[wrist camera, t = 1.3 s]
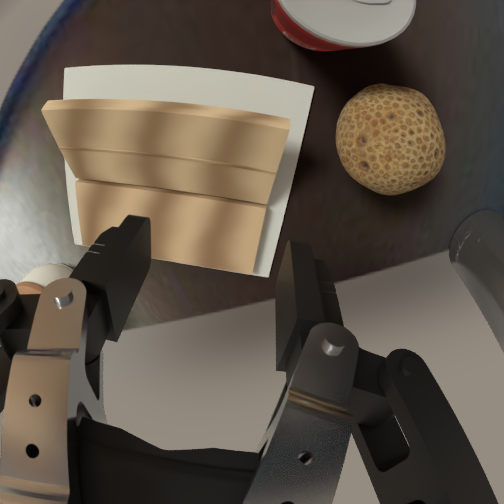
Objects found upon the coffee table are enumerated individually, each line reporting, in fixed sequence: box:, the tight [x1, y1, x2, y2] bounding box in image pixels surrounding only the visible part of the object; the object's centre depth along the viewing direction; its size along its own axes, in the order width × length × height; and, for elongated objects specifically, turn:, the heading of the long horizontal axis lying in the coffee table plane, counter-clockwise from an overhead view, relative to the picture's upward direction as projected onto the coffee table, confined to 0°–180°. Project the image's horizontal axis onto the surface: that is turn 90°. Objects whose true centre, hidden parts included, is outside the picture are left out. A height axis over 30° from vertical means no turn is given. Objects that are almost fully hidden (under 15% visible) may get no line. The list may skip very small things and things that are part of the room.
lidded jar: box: [16, 263, 73, 294], centre depth 34 cm, size 11×11×9 cm
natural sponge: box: [336, 83, 446, 195], centre depth 21 cm, size 9×9×10 cm
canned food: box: [271, 0, 416, 52], centre depth 15 cm, size 8×8×11 cm
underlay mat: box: [63, 65, 314, 277], centre depth 29 cm, size 24×21×1 cm
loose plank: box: [41, 99, 290, 204], centre depth 24 cm, size 20×10×1 cm
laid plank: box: [75, 179, 266, 274], centre depth 31 cm, size 20×8×1 cm, turn 80°
